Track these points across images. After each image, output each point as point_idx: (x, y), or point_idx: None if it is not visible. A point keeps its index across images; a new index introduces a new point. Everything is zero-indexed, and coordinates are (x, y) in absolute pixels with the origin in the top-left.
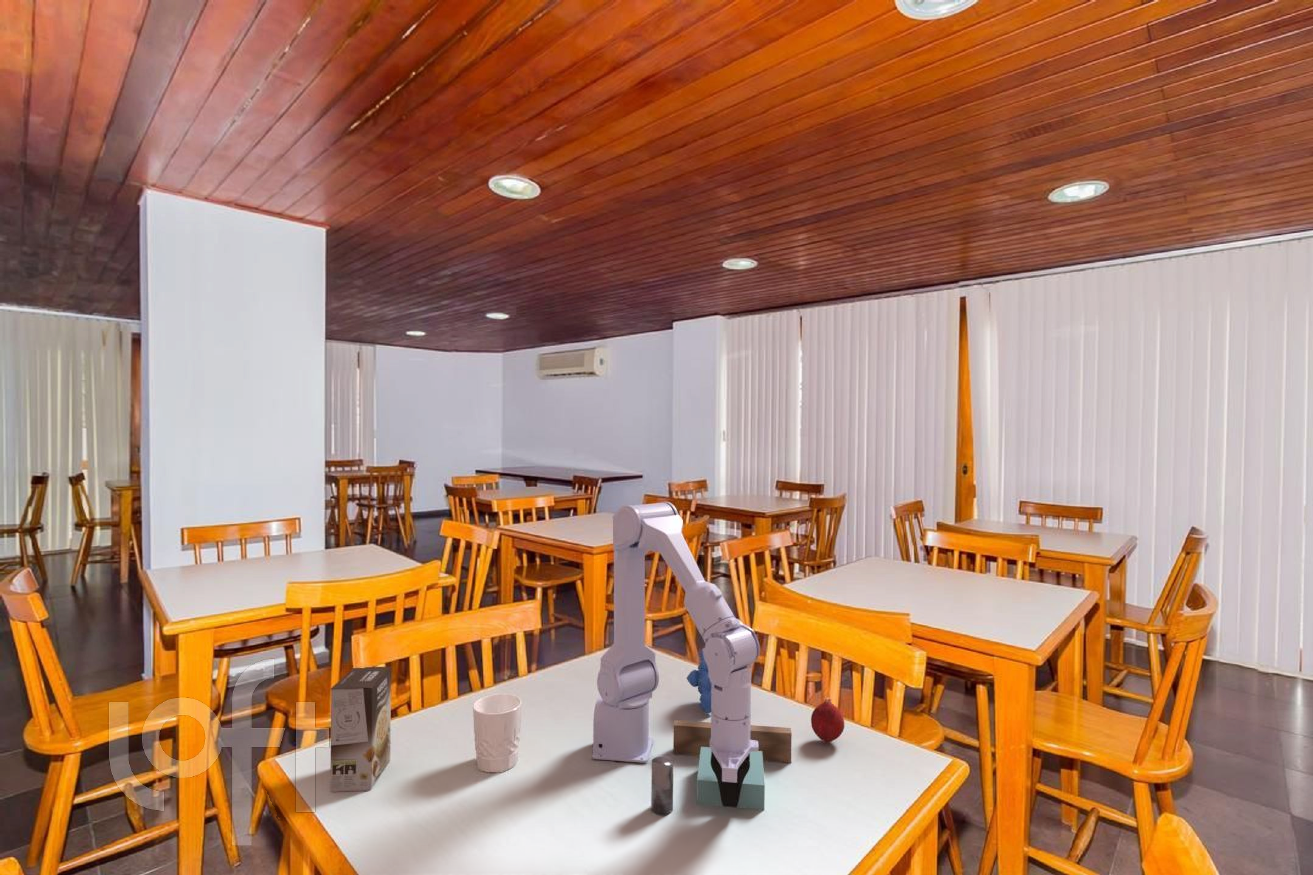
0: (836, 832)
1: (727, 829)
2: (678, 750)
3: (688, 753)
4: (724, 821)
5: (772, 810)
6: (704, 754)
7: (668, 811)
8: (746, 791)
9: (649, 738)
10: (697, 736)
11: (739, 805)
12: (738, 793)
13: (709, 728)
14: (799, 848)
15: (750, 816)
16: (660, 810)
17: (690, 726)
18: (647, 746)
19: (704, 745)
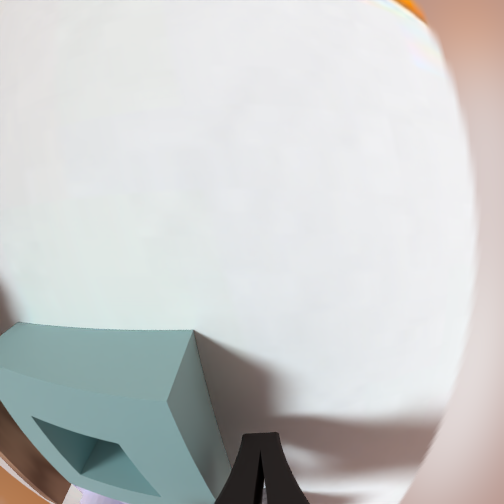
0: (282, 36)
1: (334, 413)
2: None
3: None
4: (296, 424)
5: (188, 300)
6: (94, 489)
7: None
8: (195, 428)
9: (73, 484)
10: (38, 467)
11: (210, 405)
12: (292, 475)
13: (14, 464)
14: (416, 191)
15: (253, 371)
16: None
17: (40, 489)
18: (102, 499)
19: None
